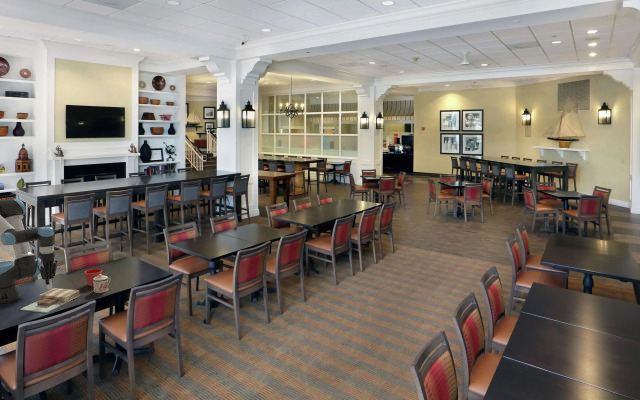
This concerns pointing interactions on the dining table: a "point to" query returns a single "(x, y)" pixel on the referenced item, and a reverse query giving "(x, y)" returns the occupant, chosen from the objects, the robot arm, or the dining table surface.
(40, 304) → the walnut tile
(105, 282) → the teacup with lid
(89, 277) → the flower pot
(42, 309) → the sage mat
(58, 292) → the birch deck
